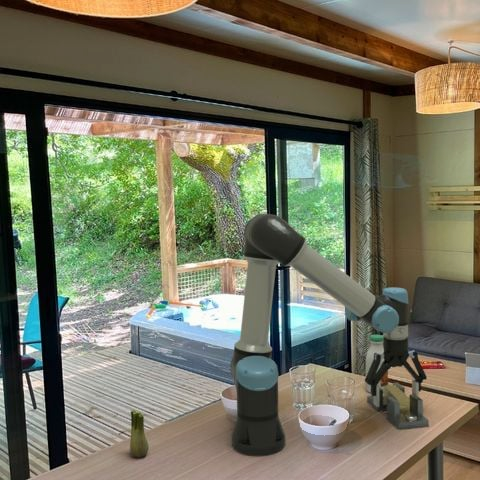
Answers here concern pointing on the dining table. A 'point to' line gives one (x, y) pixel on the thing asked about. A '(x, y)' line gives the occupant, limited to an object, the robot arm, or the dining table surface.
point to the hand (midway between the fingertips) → (395, 403)
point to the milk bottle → (374, 348)
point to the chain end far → (382, 398)
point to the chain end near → (409, 420)
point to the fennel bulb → (138, 435)
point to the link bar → (398, 398)
